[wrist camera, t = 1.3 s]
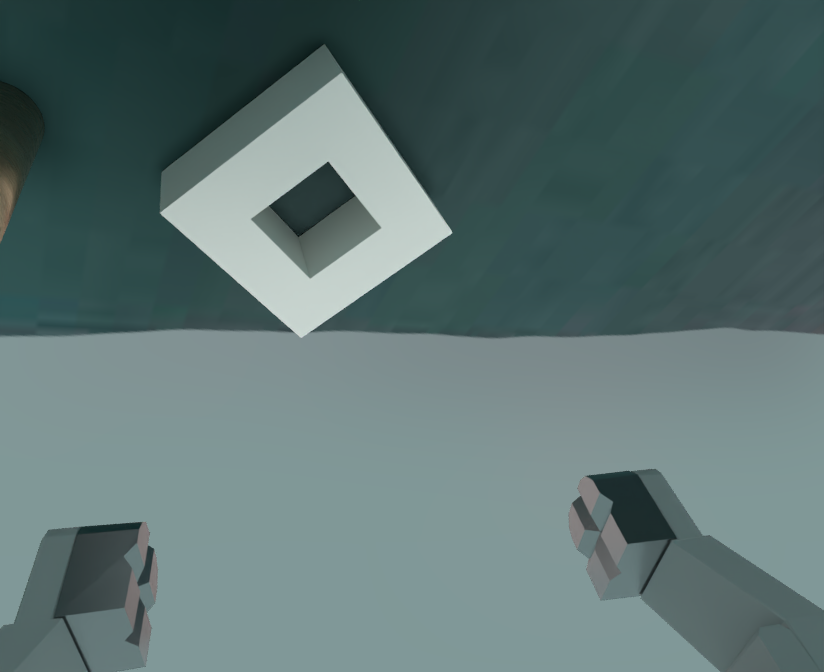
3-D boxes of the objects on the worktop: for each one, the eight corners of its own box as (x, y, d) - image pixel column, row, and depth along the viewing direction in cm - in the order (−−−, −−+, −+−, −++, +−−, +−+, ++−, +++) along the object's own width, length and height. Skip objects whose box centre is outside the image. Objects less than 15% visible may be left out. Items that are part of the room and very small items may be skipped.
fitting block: (161, 172, 36) (159, 212, 33) (324, 43, 34) (341, 72, 31) (290, 294, 44) (301, 337, 41) (429, 195, 42) (452, 232, 39)
